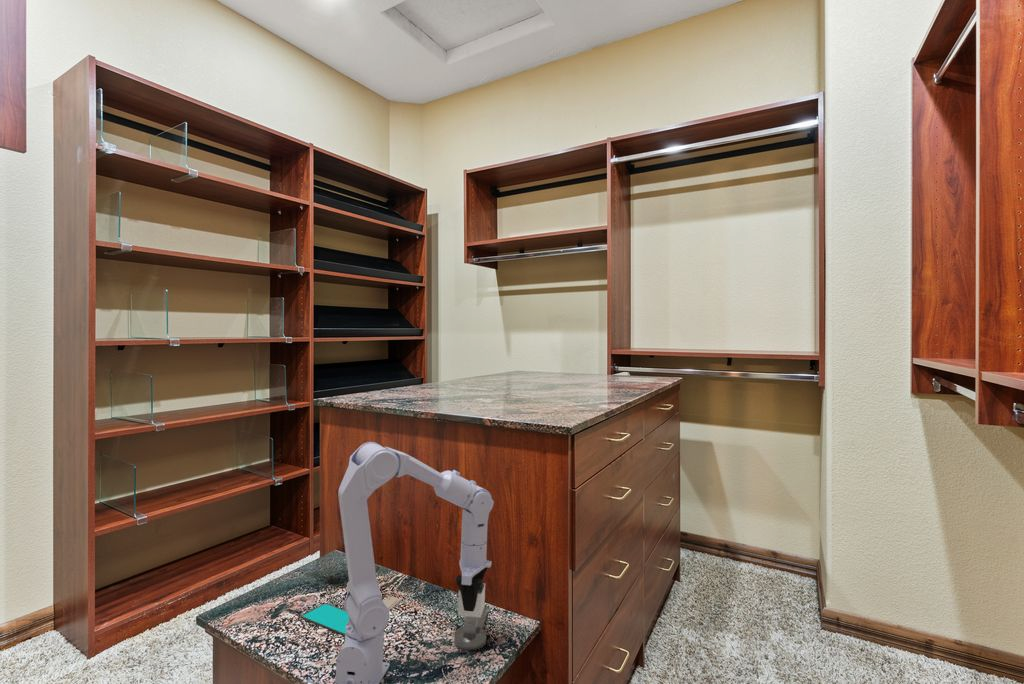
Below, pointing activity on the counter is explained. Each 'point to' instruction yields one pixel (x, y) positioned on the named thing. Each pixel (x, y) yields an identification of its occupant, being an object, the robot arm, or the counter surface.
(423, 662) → the counter surface
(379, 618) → the robot arm
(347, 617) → the smartphone
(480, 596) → the brushed metal cube
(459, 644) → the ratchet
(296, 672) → the counter surface
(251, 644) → the counter surface
